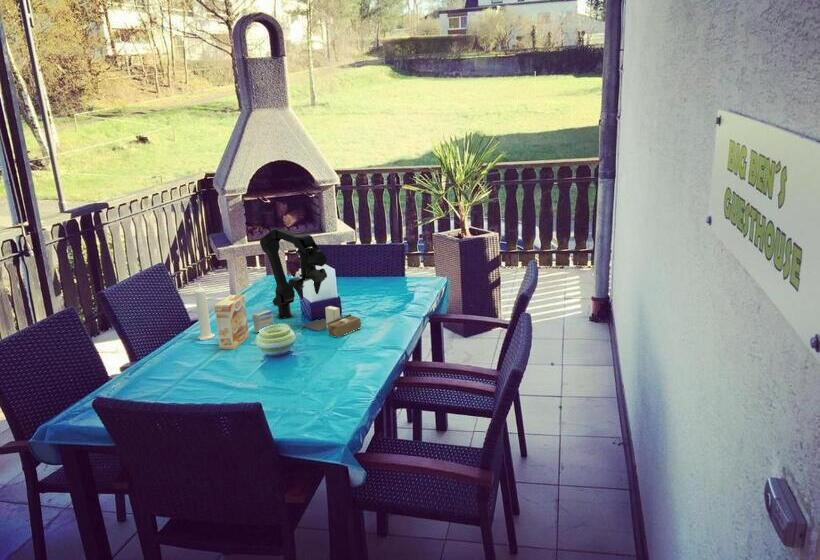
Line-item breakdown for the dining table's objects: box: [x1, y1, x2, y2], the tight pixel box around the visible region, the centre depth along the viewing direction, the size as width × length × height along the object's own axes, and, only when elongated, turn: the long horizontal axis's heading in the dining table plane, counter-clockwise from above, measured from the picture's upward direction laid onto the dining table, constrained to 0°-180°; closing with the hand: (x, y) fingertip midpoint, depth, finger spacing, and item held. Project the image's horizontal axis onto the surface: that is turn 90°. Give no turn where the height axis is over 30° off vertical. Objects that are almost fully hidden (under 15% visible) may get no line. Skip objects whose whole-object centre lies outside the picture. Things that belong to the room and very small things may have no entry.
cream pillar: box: [325, 305, 341, 328], centre depth 297 cm, size 6×3×10 cm, turn 50°
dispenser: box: [327, 313, 362, 338], centre depth 294 cm, size 6×14×6 cm, turn 140°
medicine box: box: [252, 309, 275, 334], centre depth 300 cm, size 8×4×9 cm, turn 143°
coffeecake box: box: [214, 294, 250, 350], centre depth 285 cm, size 15×7×20 cm, turn 168°
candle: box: [194, 282, 215, 341], centre depth 293 cm, size 7×7×25 cm
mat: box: [301, 318, 327, 332], centre depth 304 cm, size 12×12×1 cm
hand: (309, 296), depth 304 cm, fingers open, 9 cm apart
